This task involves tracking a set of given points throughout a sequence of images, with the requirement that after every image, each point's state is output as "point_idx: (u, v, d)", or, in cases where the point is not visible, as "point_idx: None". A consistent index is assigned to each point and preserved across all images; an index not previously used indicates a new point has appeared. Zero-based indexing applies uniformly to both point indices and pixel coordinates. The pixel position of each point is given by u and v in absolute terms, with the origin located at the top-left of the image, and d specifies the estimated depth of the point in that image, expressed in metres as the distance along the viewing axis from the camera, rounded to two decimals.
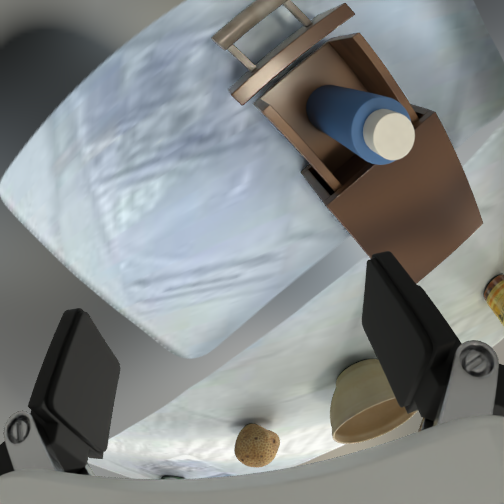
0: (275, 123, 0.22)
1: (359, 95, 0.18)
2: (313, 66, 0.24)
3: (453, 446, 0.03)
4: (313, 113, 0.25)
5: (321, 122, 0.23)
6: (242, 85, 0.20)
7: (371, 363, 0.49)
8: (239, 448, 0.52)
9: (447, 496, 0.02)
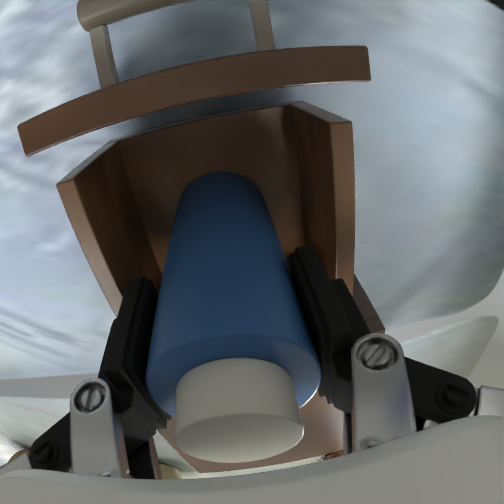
0: (70, 217, 0.10)
1: (238, 278, 0.08)
2: (236, 131, 0.14)
3: (453, 446, 0.03)
4: (176, 215, 0.14)
5: None
6: (39, 117, 0.08)
7: (163, 471, 0.37)
8: None
9: (447, 496, 0.02)
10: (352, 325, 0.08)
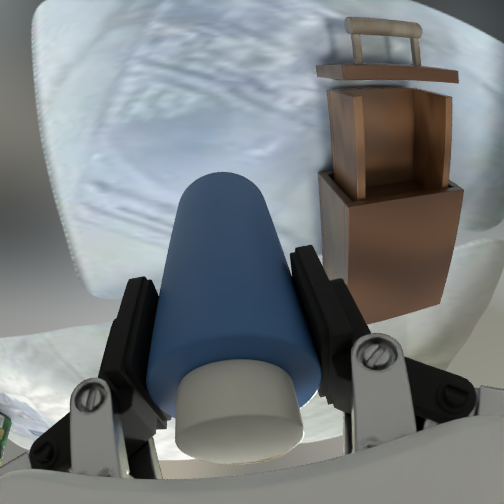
0: (355, 112, 0.22)
1: (239, 279, 0.08)
2: (391, 97, 0.26)
3: (453, 446, 0.03)
4: (176, 216, 0.14)
5: None
6: (355, 66, 0.19)
7: None
8: None
9: (447, 496, 0.02)
10: (352, 325, 0.08)
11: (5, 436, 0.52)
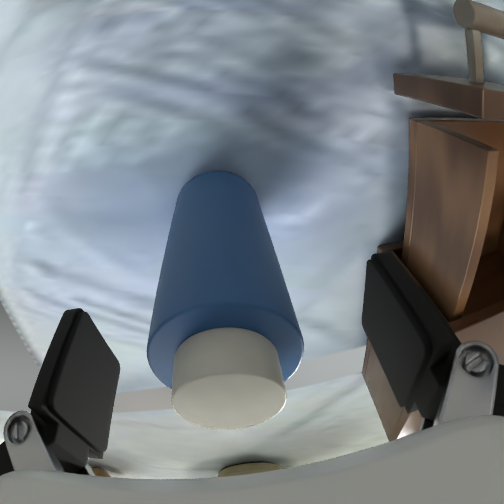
0: (486, 181, 0.10)
1: (229, 260, 0.09)
2: (492, 135, 0.14)
3: (453, 446, 0.03)
4: (175, 211, 0.15)
5: None
6: (499, 93, 0.08)
7: (272, 470, 0.37)
8: None
9: (447, 496, 0.02)
10: None
11: None
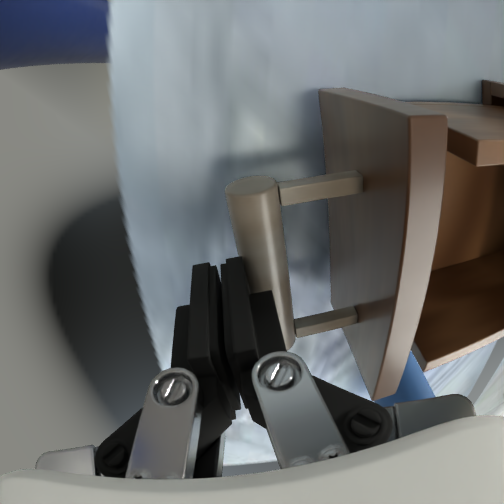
0: (447, 362, 0.12)
1: None
2: None
3: (453, 446, 0.03)
4: None
5: None
6: (377, 389, 0.11)
7: None
8: None
9: (447, 496, 0.02)
10: (269, 340, 0.08)
11: None
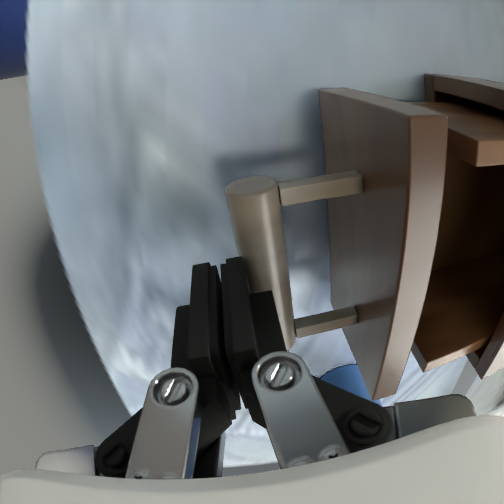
0: (447, 362, 0.12)
1: None
2: None
3: (453, 446, 0.03)
4: None
5: None
6: (377, 389, 0.11)
7: None
8: None
9: (447, 496, 0.02)
10: (269, 340, 0.08)
11: None
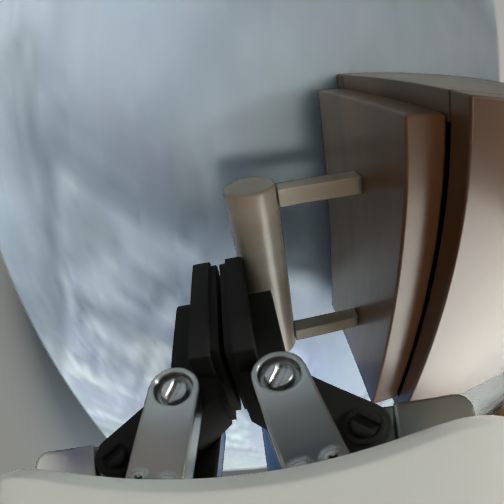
0: None
1: None
2: None
3: (453, 446, 0.03)
4: None
5: None
6: (377, 392, 0.11)
7: None
8: None
9: (447, 496, 0.02)
10: (268, 340, 0.08)
11: None
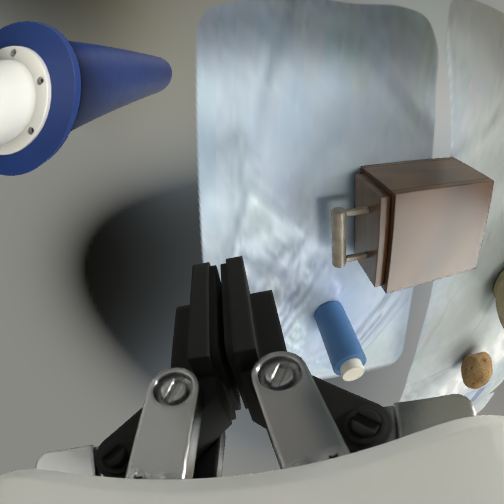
0: None
1: (330, 356, 0.40)
2: None
3: (453, 446, 0.03)
4: None
5: None
6: (375, 280, 0.35)
7: None
8: (465, 381, 0.58)
9: (447, 496, 0.02)
10: (269, 340, 0.08)
11: None
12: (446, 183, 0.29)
